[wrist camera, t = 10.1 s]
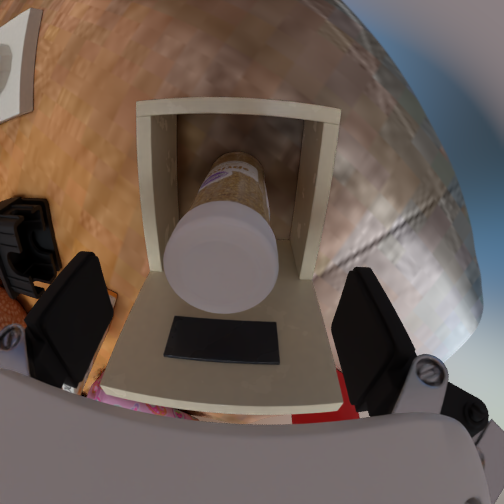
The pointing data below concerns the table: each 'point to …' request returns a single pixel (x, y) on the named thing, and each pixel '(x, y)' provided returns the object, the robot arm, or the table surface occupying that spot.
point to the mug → (342, 414)
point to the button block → (18, 63)
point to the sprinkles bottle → (225, 240)
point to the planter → (10, 310)
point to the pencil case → (134, 403)
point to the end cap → (27, 246)
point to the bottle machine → (234, 324)
